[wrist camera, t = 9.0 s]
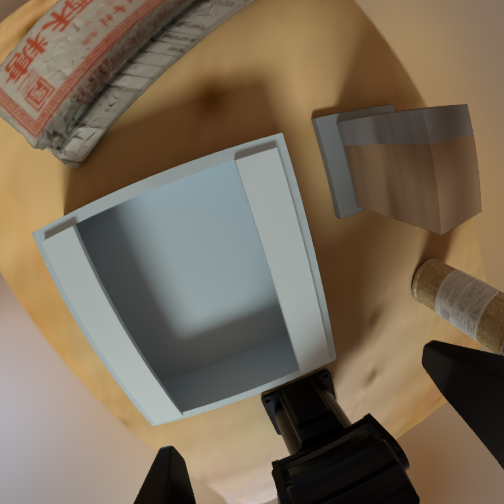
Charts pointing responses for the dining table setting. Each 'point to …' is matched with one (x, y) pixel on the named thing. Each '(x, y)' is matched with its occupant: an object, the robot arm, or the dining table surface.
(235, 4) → the packaged product
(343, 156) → the coaster
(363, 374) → the dining table surface
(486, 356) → the robot arm
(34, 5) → the dining table surface
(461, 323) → the sprinkles bottle
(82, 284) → the grey open tray
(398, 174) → the block
